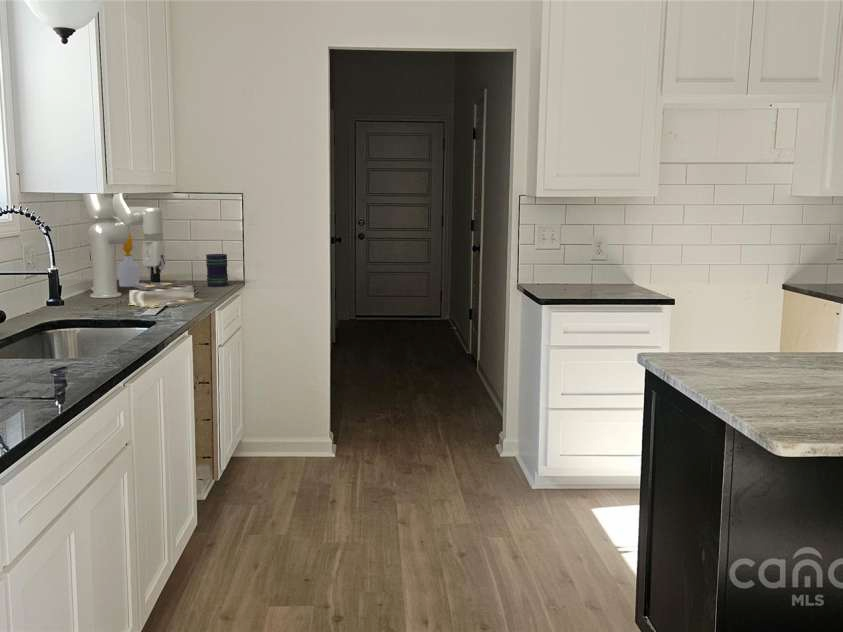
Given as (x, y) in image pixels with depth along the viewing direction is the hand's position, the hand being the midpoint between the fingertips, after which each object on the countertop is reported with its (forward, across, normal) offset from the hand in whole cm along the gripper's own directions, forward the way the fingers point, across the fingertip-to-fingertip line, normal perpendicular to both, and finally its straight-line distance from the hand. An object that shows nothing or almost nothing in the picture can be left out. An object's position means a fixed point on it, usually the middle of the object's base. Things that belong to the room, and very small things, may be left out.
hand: (155, 282), depth 351 cm
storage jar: (+8, -26, +53) cm, 60 cm away
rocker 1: (0, +4, -8) cm, 9 cm away
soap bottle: (+8, -59, +27) cm, 66 cm away
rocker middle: (0, +4, 0) cm, 4 cm away
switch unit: (+8, +7, 0) cm, 10 cm away
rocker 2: (0, +4, +8) cm, 9 cm away
